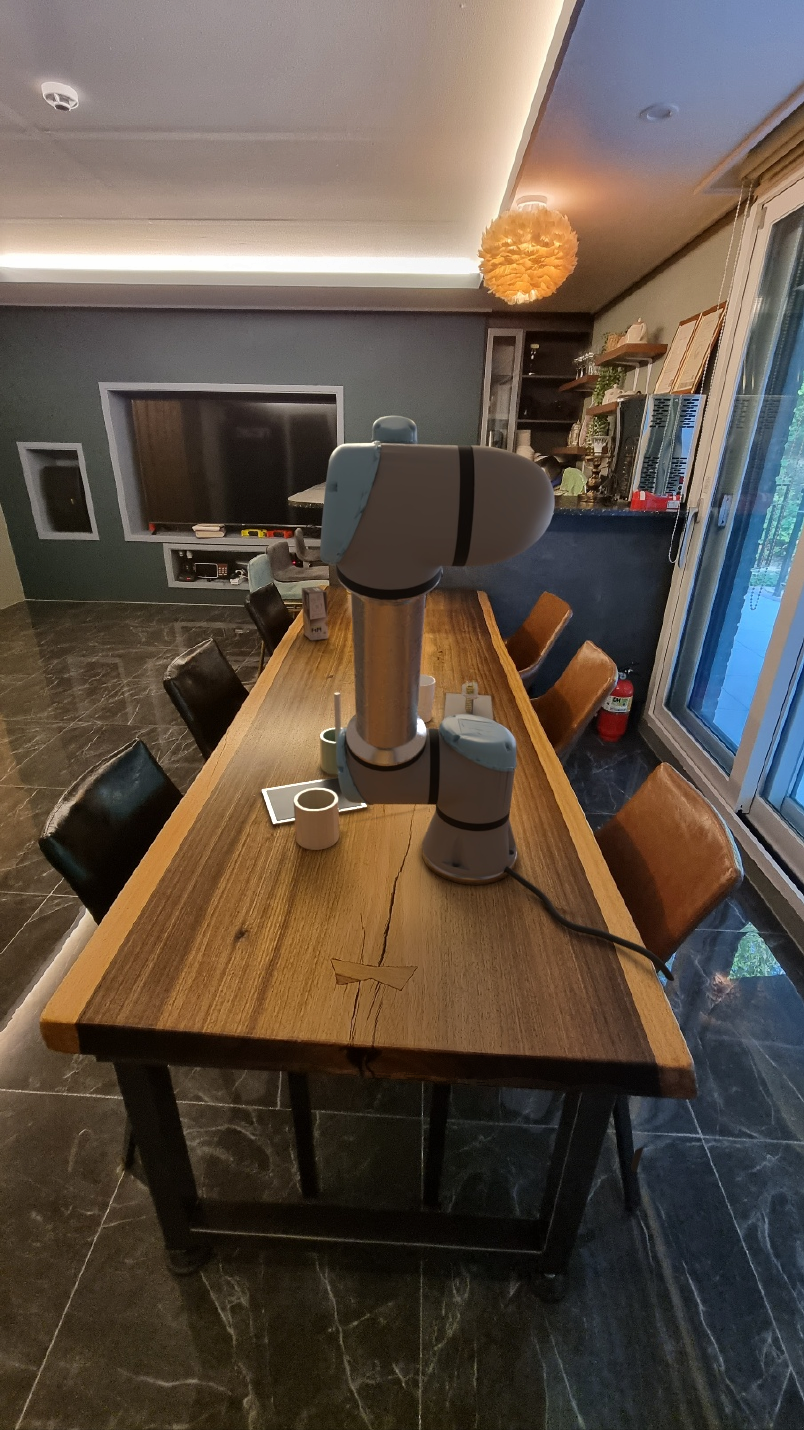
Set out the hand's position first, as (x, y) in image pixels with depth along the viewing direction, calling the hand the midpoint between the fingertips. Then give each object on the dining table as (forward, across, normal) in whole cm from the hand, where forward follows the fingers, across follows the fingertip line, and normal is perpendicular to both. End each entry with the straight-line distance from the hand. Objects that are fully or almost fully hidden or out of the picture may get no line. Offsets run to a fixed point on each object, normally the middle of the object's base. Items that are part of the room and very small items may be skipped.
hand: (391, 603), depth 127 cm
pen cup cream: (+13, +12, +48) cm, 51 cm away
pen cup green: (+22, +10, +26) cm, 36 cm away
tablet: (+17, +14, +38) cm, 44 cm away
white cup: (+33, -7, +2) cm, 33 cm away
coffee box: (+59, +25, -60) cm, 87 cm away
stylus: (+22, +10, +26) cm, 35 cm away
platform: (+35, -20, -4) cm, 41 cm away
